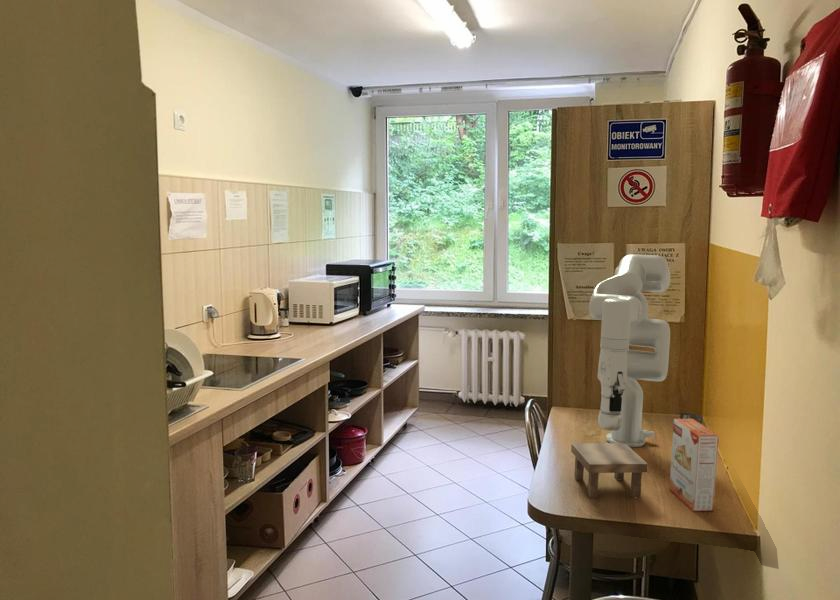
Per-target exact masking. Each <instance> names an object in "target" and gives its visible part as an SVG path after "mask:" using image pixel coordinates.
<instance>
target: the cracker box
mask: <svg viewBox="0 0 840 600" xmlns="http://www.w3.org/2000/svg"><path fill="white" fill-rule="evenodd" d="M672 428H673V430H672V445H671V456H670V457H671V458H670V459H671V460H670V474H669V475H670V476H669V490H670V491H671V492H672V493H673V494H674V495H675V496H676V497H677V498H678V499H679V500H681V502H683V503H684V505H685V506H687V507H688V508H689V509H690V510H691V511H692V512H713V511H714V505H715V493H716V491H715V490H716V479H717V465H718V454H719V452H718V451H719V439H720V436H719V434H717V433H715V432H714V431H713V430H711V429H709V428H708V427H706V426H704V425H703V423H702V424H700V423H699V422H697V421H696V420H694V419H680V418H674V419H673V427H672Z"/></svg>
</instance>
